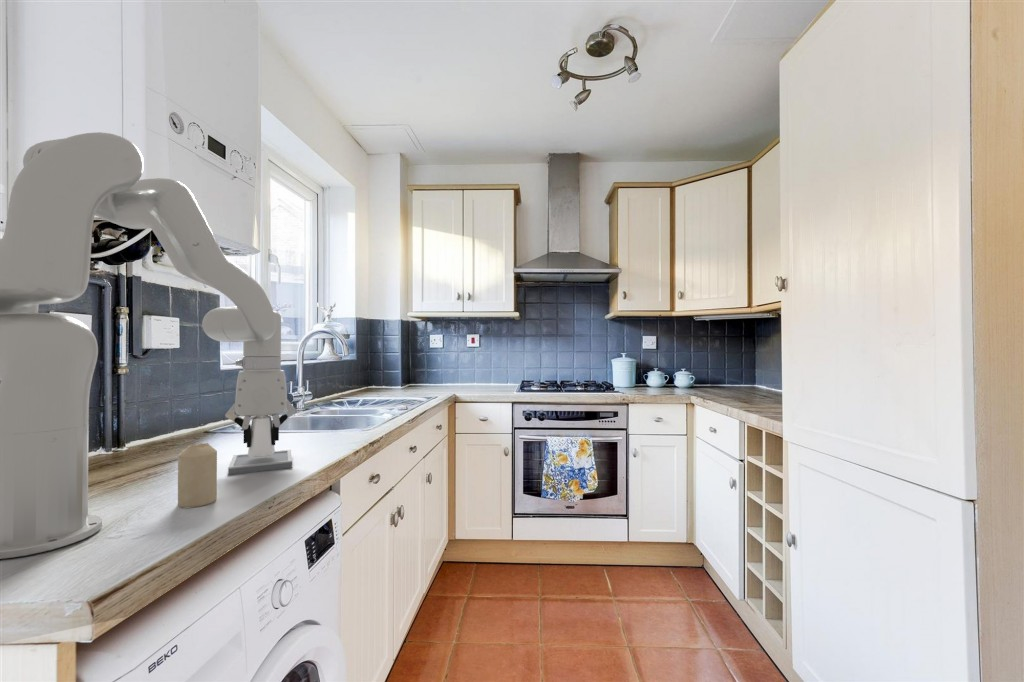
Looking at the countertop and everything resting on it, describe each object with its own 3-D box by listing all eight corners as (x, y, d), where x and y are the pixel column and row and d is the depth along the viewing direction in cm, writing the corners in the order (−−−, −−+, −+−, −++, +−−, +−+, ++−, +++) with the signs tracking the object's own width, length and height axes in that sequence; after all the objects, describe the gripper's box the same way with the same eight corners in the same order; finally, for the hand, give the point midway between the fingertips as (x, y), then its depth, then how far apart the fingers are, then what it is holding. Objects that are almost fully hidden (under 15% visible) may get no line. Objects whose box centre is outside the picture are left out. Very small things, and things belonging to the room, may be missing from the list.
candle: (196, 509, 74) (197, 448, 75) (169, 507, 76) (169, 447, 76) (224, 498, 80) (224, 441, 80) (198, 496, 81) (198, 440, 81)
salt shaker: (241, 457, 100) (242, 407, 100) (259, 451, 105) (259, 404, 105) (263, 458, 99) (264, 407, 99) (280, 452, 104) (280, 404, 105)
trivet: (228, 474, 94) (228, 467, 94) (233, 461, 105) (233, 455, 105) (292, 467, 100) (292, 460, 100) (290, 455, 110) (290, 449, 110)
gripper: (216, 365, 95) (215, 452, 95) (303, 364, 103) (302, 444, 103) (220, 364, 102) (219, 445, 102) (302, 363, 110) (301, 438, 109)
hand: (261, 444), depth 102 cm, fingers closed on salt shaker, 4 cm apart
